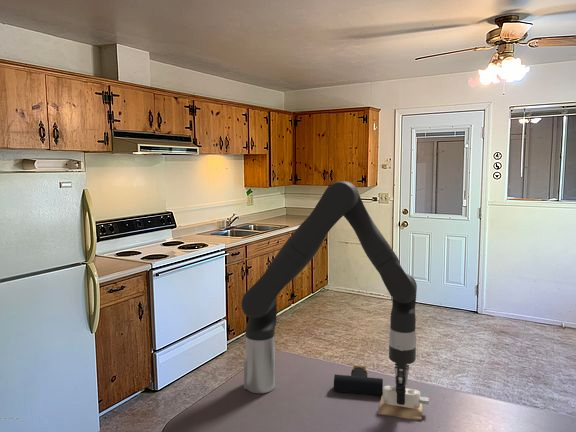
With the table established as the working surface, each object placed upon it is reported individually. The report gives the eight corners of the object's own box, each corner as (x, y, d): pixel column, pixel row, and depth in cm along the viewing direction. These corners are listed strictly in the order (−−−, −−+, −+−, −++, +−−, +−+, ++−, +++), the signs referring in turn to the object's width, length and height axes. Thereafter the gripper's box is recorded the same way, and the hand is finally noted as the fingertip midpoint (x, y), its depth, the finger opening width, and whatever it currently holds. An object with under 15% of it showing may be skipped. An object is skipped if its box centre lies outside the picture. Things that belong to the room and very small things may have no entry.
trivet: (378, 413, 129) (378, 411, 128) (381, 397, 138) (381, 395, 138) (421, 420, 125) (421, 418, 125) (422, 402, 134) (422, 401, 134)
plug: (382, 403, 131) (382, 390, 131) (383, 397, 135) (383, 384, 134) (428, 410, 127) (428, 397, 127) (428, 404, 131) (428, 391, 130)
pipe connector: (337, 362, 151) (382, 366, 148) (337, 377, 152) (382, 381, 149) (333, 378, 140) (382, 383, 137) (333, 394, 141) (382, 399, 138)
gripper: (391, 333, 137) (390, 387, 139) (386, 351, 124) (385, 410, 126) (416, 336, 135) (415, 390, 137) (415, 355, 122) (413, 415, 123)
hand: (401, 400), depth 131 cm, fingers closed on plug, 3 cm apart
